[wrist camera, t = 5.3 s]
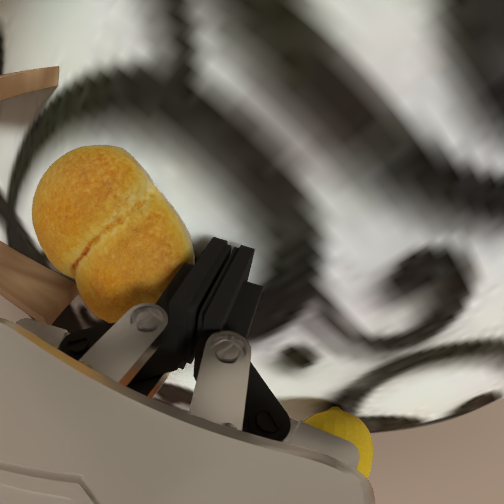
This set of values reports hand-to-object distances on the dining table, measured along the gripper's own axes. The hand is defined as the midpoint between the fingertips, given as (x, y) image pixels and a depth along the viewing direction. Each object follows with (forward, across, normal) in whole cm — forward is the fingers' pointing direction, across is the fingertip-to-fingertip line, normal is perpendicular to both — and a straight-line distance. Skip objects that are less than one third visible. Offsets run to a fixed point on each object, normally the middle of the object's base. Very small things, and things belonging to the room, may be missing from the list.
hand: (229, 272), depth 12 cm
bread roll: (+2, +6, 0) cm, 6 cm away
